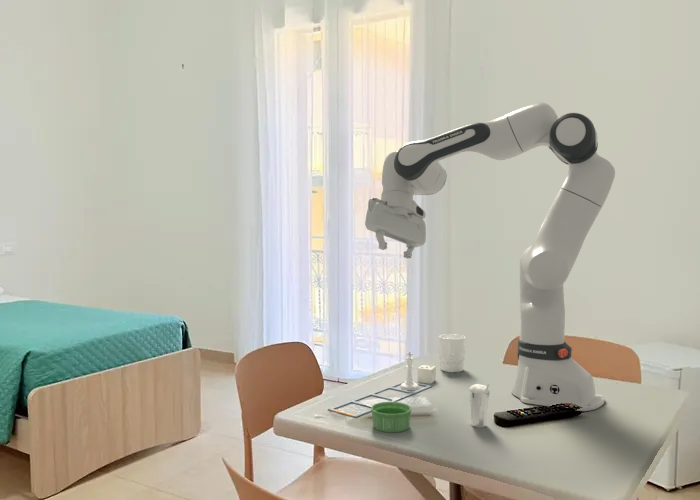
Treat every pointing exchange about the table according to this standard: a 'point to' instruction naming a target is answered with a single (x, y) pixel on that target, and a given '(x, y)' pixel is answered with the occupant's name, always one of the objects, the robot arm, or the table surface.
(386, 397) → the ladder
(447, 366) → the white cup
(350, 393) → the table surface
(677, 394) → the table surface
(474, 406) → the milkshake
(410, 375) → the chess piece
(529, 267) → the robot arm
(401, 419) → the ramekin
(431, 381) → the die
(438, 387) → the table surface
